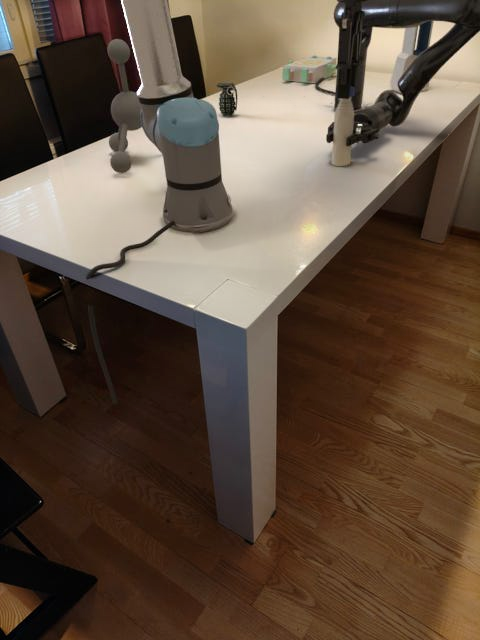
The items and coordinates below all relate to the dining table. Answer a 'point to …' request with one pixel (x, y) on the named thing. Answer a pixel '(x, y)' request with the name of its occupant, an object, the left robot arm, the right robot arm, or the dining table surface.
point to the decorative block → (310, 69)
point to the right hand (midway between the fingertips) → (337, 140)
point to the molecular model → (123, 109)
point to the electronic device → (411, 51)
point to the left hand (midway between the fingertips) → (346, 95)
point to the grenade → (227, 99)
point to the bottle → (342, 132)
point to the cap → (352, 91)
